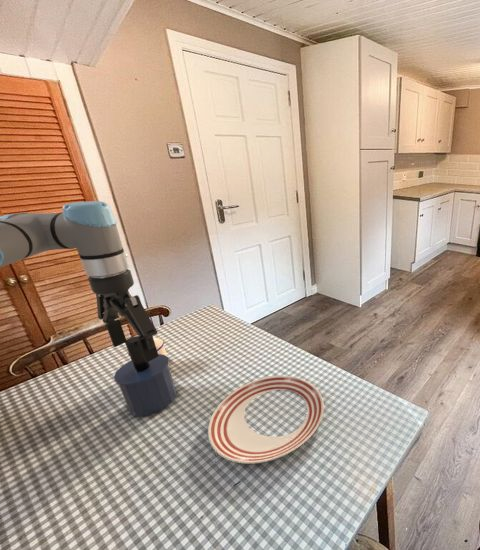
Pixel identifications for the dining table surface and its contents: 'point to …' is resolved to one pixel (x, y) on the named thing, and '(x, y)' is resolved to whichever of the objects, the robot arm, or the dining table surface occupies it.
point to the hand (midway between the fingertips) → (135, 351)
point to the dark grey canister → (150, 394)
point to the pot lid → (139, 365)
